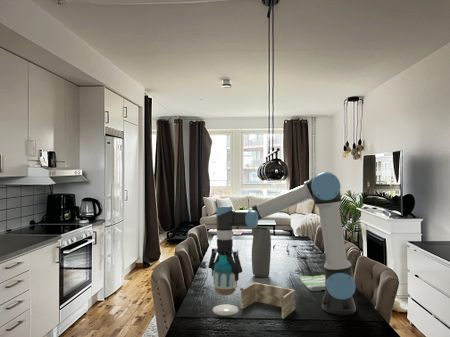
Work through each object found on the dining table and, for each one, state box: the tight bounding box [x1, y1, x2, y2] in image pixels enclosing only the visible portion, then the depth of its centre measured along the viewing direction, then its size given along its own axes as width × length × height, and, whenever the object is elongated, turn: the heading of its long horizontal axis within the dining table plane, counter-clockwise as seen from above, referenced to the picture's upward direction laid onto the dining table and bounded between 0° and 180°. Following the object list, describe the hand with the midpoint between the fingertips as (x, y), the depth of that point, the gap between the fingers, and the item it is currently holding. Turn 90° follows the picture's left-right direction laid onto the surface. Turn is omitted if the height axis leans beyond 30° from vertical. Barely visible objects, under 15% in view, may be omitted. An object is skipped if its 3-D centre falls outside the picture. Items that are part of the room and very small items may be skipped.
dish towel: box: [298, 274, 325, 292], centre depth 201 cm, size 17×23×4 cm
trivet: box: [212, 303, 239, 316], centre depth 163 cm, size 12×12×1 cm
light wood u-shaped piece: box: [239, 282, 296, 320], centre depth 164 cm, size 22×14×10 cm, turn 56°
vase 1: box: [213, 254, 237, 297], centre depth 164 cm, size 11×11×19 cm
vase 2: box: [251, 226, 272, 278], centre depth 218 cm, size 12×12×30 cm
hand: (225, 285), depth 163 cm, fingers closed on vase 1, 10 cm apart
